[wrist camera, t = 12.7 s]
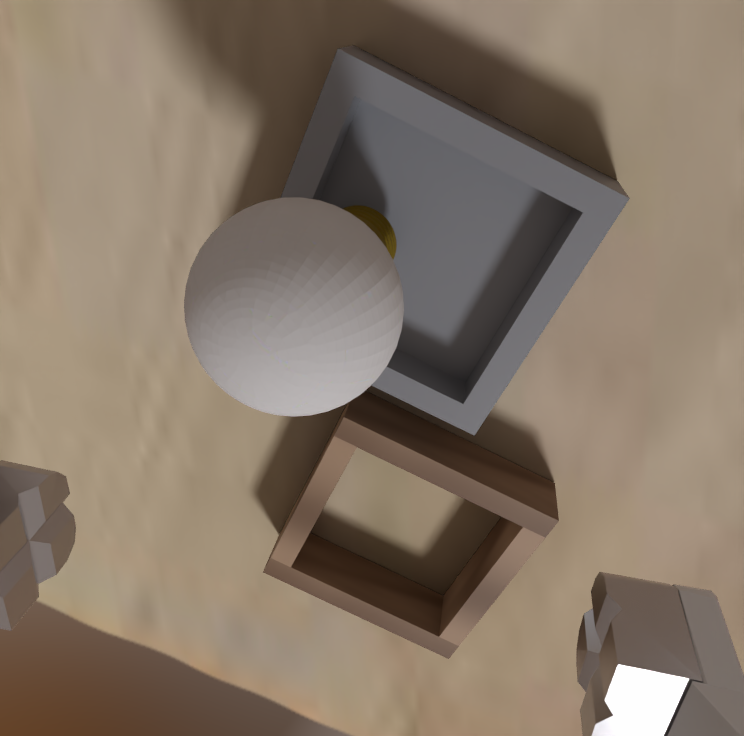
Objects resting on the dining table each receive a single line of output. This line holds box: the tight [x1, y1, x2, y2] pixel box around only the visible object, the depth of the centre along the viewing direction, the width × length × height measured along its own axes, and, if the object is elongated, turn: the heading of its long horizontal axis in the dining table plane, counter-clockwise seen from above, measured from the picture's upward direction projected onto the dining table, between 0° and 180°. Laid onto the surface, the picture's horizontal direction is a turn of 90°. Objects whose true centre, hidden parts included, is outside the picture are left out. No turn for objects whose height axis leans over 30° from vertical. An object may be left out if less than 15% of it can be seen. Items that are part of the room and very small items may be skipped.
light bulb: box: [184, 197, 404, 416], centre depth 21 cm, size 6×6×10 cm
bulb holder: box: [263, 391, 559, 659], centre depth 30 cm, size 9×9×2 cm
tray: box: [281, 45, 630, 436], centre depth 24 cm, size 10×10×2 cm
